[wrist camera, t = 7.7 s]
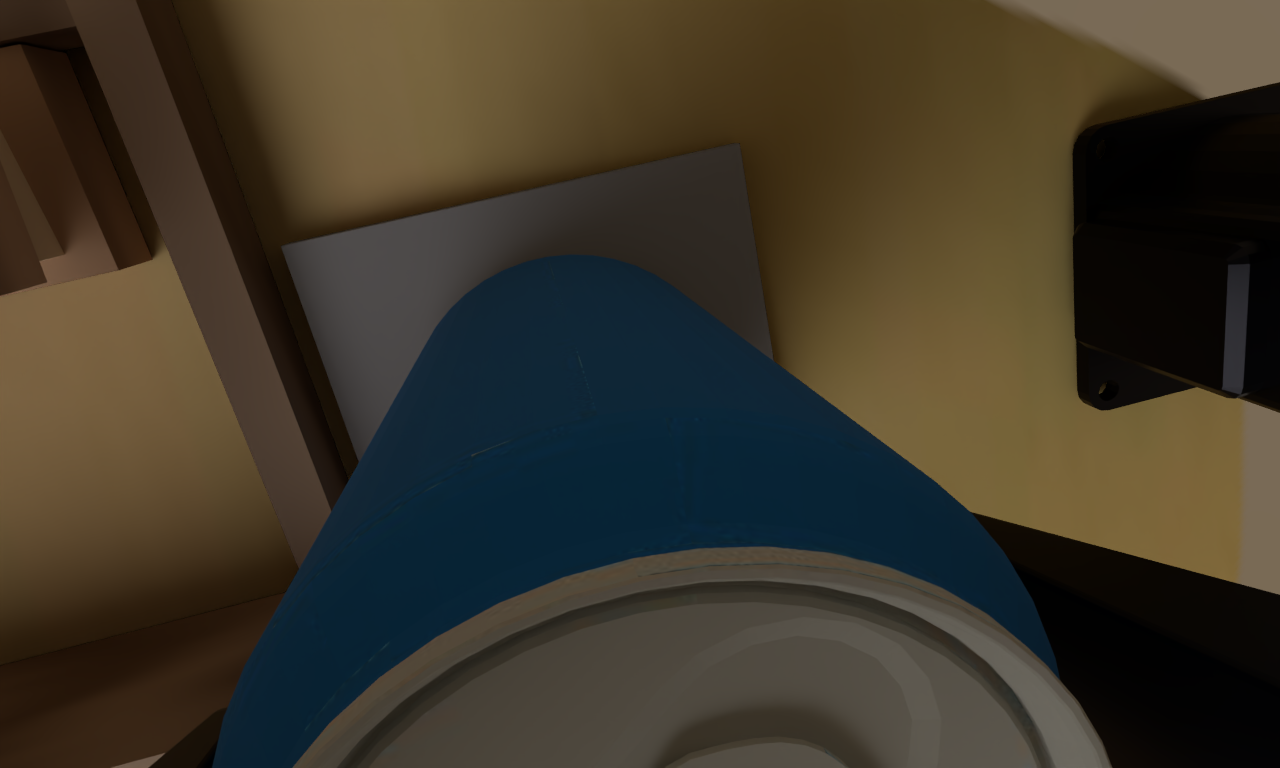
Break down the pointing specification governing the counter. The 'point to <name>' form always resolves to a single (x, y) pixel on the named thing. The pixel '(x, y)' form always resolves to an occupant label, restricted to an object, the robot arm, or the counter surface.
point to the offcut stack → (56, 180)
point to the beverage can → (641, 568)
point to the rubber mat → (512, 234)
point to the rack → (248, 367)
